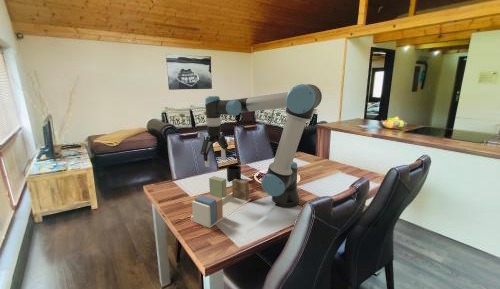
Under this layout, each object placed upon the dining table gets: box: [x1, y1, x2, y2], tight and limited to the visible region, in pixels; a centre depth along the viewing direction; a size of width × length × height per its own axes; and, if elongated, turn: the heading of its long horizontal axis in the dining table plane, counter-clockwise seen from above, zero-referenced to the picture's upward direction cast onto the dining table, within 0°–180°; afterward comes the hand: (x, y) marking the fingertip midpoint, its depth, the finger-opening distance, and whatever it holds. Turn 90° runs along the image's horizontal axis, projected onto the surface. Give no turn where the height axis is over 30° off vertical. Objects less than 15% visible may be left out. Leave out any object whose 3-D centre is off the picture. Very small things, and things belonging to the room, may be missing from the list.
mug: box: [226, 164, 242, 183], centre depth 170 cm, size 9×12×9 cm
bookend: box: [231, 179, 250, 201], centre depth 141 cm, size 9×3×10 cm, turn 57°
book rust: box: [205, 194, 223, 220], centre depth 122 cm, size 8×4×10 cm, turn 57°
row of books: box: [190, 192, 252, 229], centre depth 129 cm, size 12×34×11 cm, turn 147°
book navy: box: [194, 194, 217, 225], centre depth 118 cm, size 9×4×11 cm, turn 57°
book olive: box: [208, 175, 228, 198], centre depth 143 cm, size 9×4×12 cm, turn 57°
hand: (215, 163), depth 141 cm, fingers open, 13 cm apart
